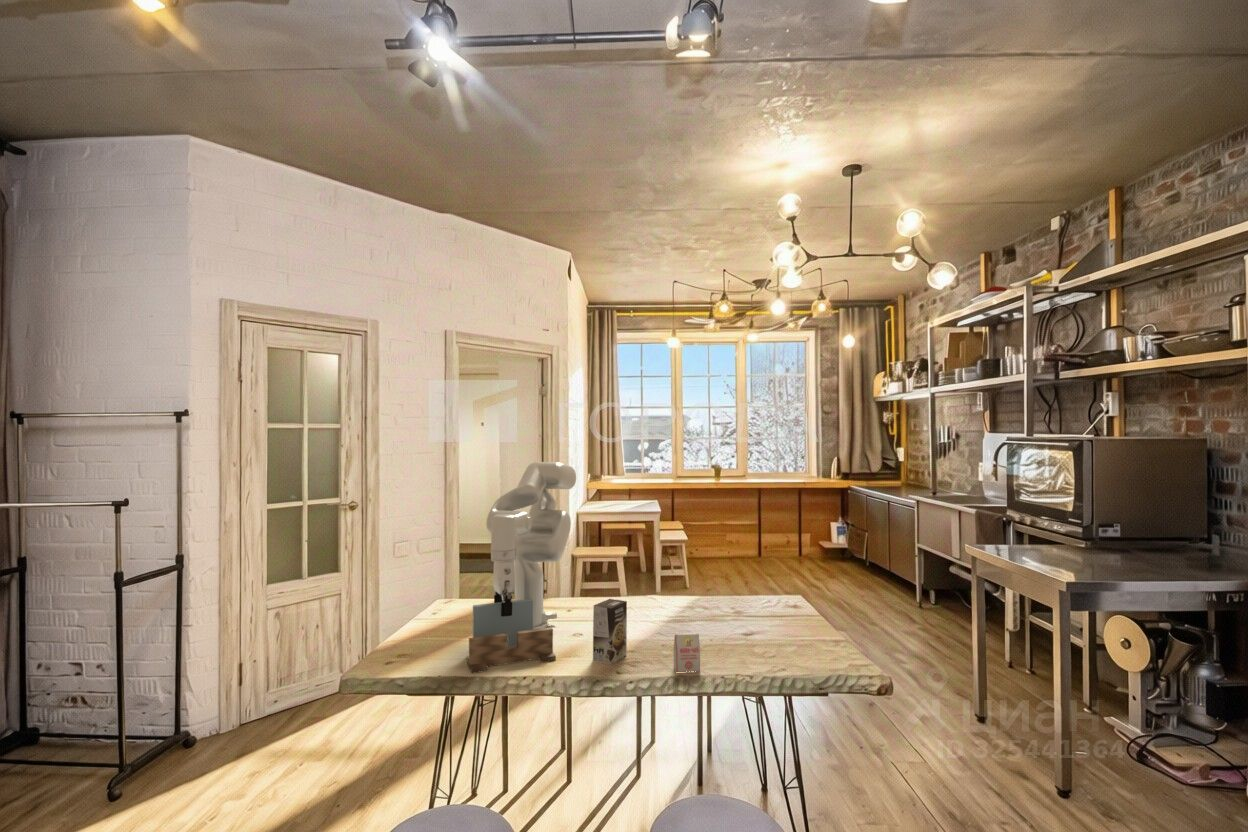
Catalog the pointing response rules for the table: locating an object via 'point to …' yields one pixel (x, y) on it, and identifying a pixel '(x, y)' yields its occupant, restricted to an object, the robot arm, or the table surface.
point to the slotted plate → (503, 620)
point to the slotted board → (510, 649)
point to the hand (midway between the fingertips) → (502, 611)
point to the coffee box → (609, 631)
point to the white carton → (686, 653)
